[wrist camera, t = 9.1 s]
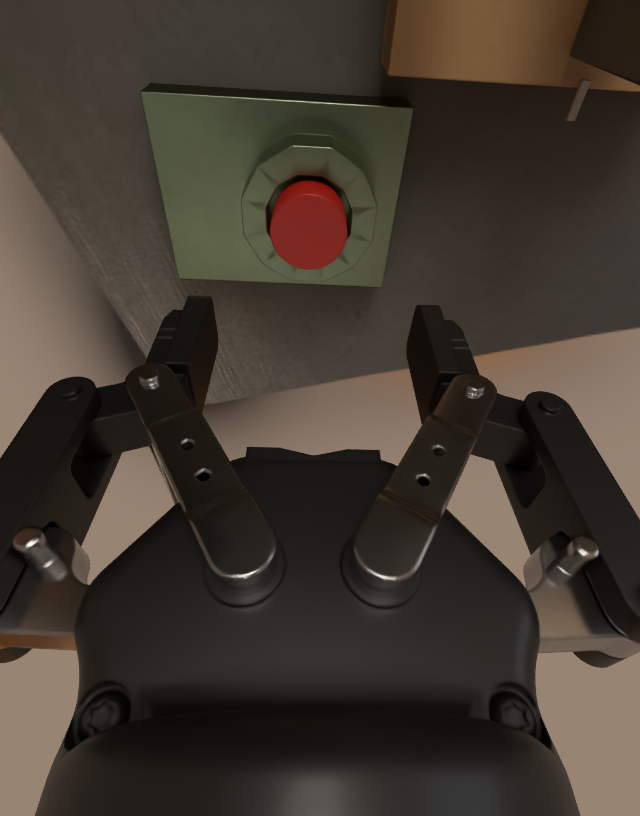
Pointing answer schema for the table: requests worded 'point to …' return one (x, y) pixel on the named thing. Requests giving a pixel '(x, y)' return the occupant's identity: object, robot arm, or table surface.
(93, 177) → the table surface
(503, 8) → the wooden base block
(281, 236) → the button
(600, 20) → the dark grey flat block
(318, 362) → the table surface
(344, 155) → the button box
